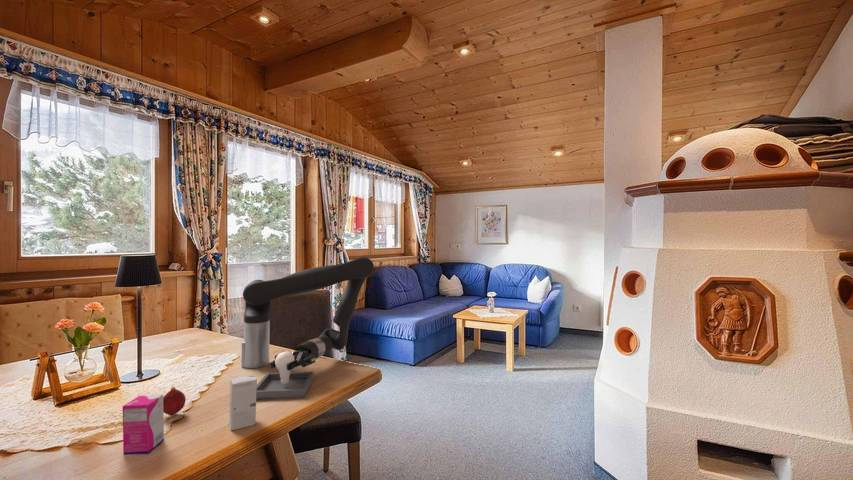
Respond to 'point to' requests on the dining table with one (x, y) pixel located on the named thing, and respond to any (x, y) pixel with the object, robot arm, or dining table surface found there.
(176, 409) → the onion
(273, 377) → the parts tray
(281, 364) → the lightbulb
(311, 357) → the robot arm
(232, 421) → the skincare box
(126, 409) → the supplement box
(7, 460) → the dining table surface
